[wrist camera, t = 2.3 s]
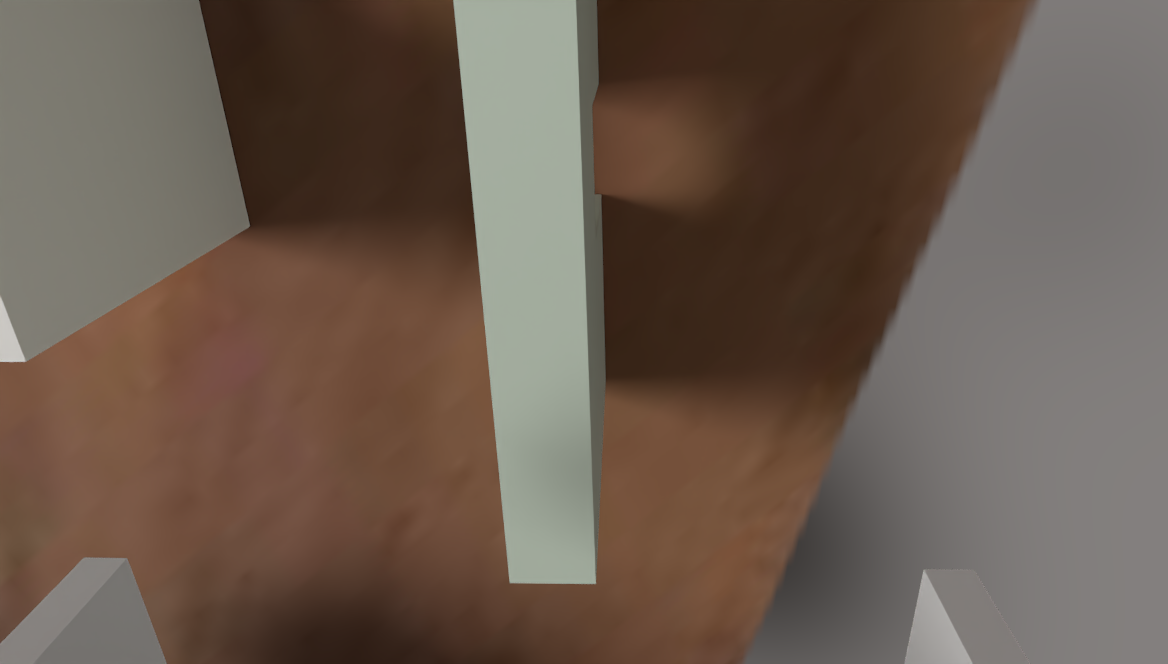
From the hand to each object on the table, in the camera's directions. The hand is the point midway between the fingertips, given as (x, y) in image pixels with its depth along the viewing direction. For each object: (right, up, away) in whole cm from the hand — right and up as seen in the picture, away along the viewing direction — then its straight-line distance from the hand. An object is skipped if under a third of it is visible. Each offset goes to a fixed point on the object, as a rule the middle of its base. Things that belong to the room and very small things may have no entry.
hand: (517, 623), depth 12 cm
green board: (+1, +12, +15) cm, 19 cm away
